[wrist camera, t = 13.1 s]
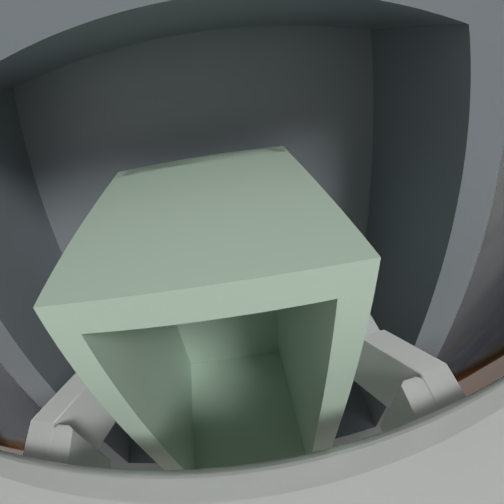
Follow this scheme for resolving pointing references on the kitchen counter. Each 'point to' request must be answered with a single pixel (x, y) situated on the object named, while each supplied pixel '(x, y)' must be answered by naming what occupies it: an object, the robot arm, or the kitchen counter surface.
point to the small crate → (216, 308)
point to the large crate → (253, 141)
